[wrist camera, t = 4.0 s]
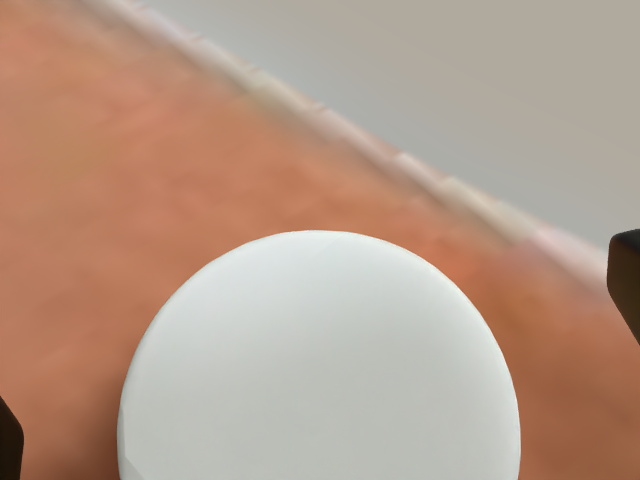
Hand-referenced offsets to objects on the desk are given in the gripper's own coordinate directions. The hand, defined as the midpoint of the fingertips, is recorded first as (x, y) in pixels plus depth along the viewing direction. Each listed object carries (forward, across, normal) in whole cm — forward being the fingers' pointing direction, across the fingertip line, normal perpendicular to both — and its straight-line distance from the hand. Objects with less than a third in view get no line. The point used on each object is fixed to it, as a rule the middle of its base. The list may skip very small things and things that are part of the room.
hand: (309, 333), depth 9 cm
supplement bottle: (+4, 0, +6) cm, 7 cm away
